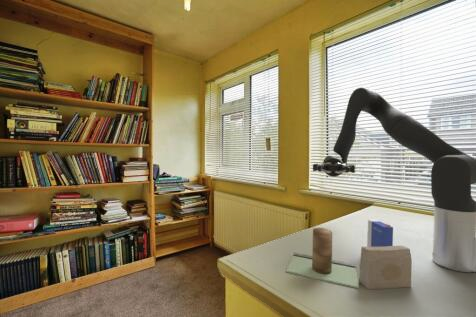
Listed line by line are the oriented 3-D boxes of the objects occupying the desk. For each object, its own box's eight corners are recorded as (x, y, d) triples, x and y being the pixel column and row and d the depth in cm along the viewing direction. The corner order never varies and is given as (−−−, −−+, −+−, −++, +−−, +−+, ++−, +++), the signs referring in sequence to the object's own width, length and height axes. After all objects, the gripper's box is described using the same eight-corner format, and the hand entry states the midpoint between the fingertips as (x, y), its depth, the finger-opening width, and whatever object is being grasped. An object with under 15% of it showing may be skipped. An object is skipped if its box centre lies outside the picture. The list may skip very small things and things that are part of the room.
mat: (356, 269, 64) (356, 268, 64) (358, 288, 55) (358, 287, 55) (292, 257, 72) (292, 255, 72) (286, 272, 63) (286, 270, 63)
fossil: (399, 279, 60) (401, 244, 60) (411, 287, 56) (412, 249, 56) (358, 282, 58) (359, 245, 58) (367, 290, 55) (368, 251, 55)
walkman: (392, 265, 67) (393, 226, 67) (383, 266, 67) (384, 226, 67) (374, 253, 75) (375, 218, 75) (366, 254, 75) (367, 218, 74)
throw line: (355, 265, 67) (355, 264, 67) (355, 267, 66) (355, 266, 66) (294, 253, 74) (294, 252, 74) (293, 255, 73) (293, 254, 73)
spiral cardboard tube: (331, 267, 65) (332, 229, 65) (331, 276, 60) (332, 235, 60) (313, 263, 67) (313, 227, 67) (311, 271, 62) (311, 232, 62)
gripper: (315, 157, 95) (311, 157, 80) (353, 157, 89) (356, 158, 75) (315, 174, 95) (311, 178, 81) (352, 176, 90) (355, 181, 75)
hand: (332, 169), depth 78 cm, fingers open, 8 cm apart
